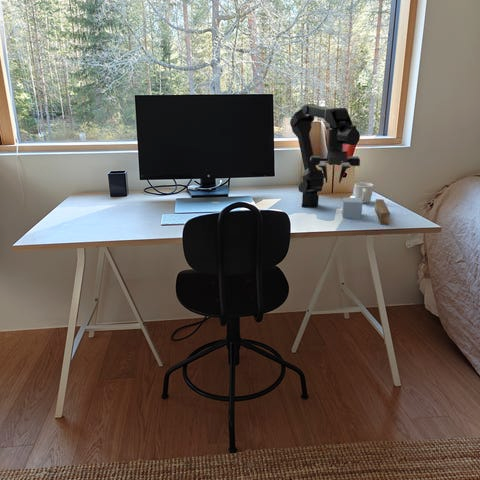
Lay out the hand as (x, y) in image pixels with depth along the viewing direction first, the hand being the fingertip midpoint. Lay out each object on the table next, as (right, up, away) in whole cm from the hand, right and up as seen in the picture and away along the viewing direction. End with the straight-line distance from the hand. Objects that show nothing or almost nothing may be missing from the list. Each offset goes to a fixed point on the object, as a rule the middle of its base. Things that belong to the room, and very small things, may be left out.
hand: (333, 182), depth 167 cm
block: (+8, -13, +3) cm, 15 cm away
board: (+19, -13, +1) cm, 23 cm away
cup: (+18, -6, +21) cm, 28 cm away
